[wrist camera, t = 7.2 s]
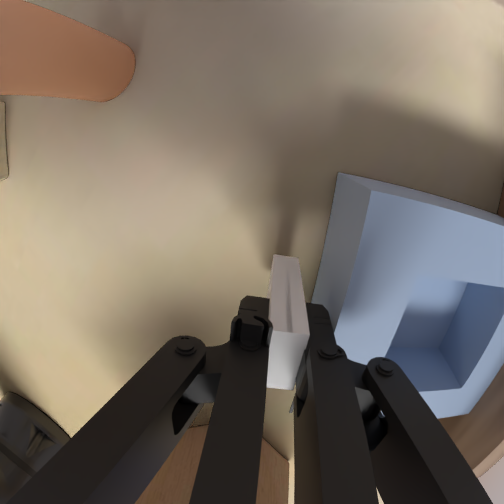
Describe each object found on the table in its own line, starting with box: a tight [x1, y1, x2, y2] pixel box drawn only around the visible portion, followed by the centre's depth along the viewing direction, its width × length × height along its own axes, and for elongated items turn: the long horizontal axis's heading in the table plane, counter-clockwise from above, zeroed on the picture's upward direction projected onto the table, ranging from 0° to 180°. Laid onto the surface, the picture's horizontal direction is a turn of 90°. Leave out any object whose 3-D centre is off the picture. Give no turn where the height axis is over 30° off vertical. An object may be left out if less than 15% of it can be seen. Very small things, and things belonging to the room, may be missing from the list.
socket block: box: [311, 172, 504, 419], centre depth 14 cm, size 12×12×6 cm
